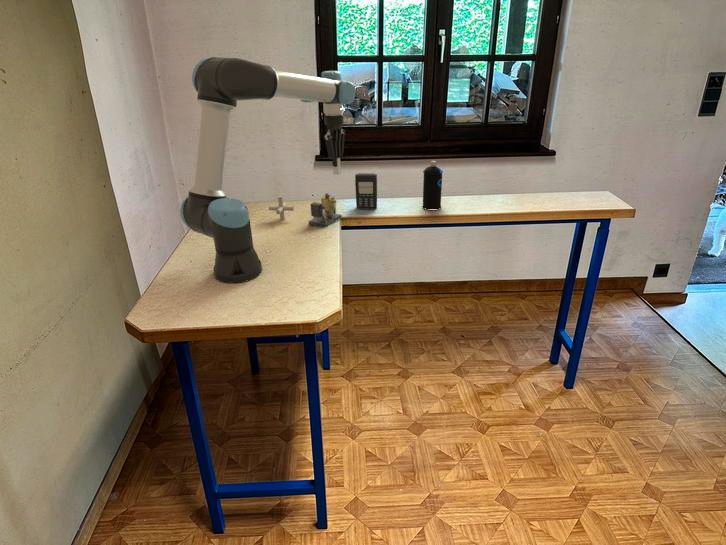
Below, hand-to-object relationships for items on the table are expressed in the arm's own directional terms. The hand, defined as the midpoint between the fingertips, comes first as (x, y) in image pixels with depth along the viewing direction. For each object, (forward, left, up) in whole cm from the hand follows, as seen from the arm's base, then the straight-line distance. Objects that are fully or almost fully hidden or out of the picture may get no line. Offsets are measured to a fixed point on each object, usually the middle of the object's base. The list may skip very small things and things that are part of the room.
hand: (337, 173), depth 195 cm
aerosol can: (+23, -33, -17) cm, 43 cm away
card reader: (+10, -8, -17) cm, 21 cm away
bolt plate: (-12, -1, -17) cm, 20 cm away
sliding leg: (-8, -1, -15) cm, 17 cm away
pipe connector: (-18, +16, -17) cm, 30 cm away
